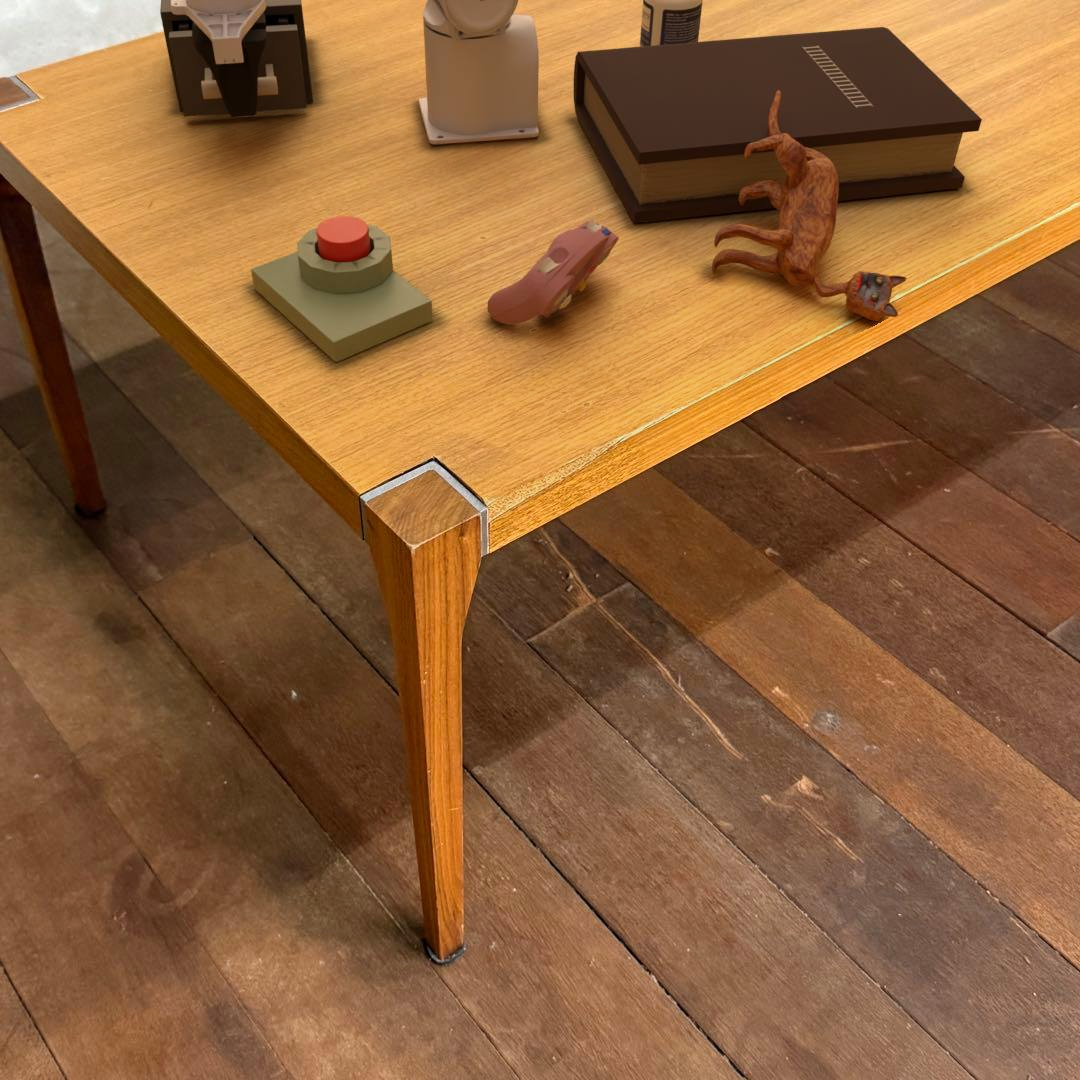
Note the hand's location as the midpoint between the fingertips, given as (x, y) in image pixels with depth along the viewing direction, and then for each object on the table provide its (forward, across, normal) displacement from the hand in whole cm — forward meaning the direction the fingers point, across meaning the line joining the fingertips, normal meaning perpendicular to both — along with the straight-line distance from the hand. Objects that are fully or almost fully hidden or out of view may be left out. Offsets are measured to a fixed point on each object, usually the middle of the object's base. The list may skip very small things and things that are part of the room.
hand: (243, 113), depth 99 cm
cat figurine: (-1, +19, +36) cm, 40 cm away
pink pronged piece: (+4, +26, +21) cm, 33 cm away
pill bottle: (+4, -10, +39) cm, 41 cm away
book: (+3, +6, +43) cm, 43 cm away
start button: (0, +21, +7) cm, 22 cm away
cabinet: (+3, -14, 0) cm, 15 cm away
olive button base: (+3, +24, +6) cm, 24 cm away
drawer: (+3, -9, 0) cm, 9 cm away
